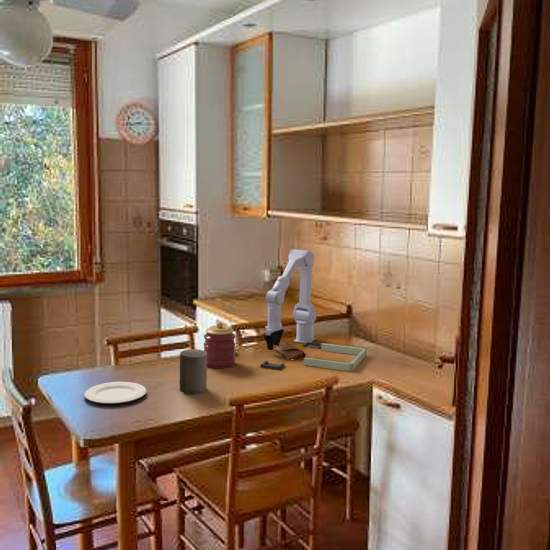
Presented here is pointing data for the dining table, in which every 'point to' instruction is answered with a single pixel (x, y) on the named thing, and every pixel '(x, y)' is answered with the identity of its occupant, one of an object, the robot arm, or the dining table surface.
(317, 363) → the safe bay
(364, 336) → the dining table surface
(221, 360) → the canister
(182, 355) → the pillar candle
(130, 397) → the plate
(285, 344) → the sunglasses case
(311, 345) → the rear trap pocket
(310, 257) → the robot arm
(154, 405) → the dining table surface
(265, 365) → the front trap pocket
